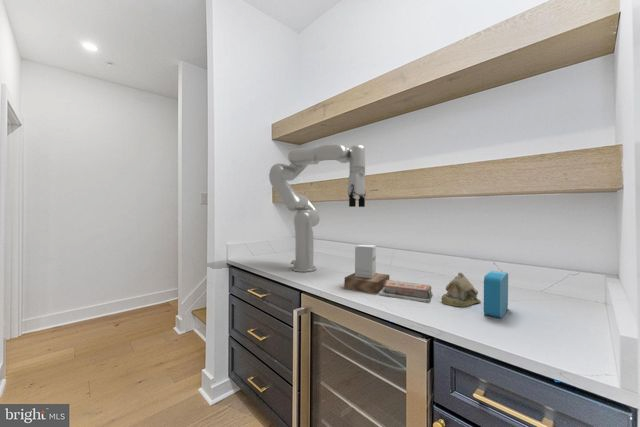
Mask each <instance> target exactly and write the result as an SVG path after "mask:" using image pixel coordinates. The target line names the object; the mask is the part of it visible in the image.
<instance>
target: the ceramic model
mask: <svg viewBox="0 0 640 427" xmlns="http://www.w3.org/2000/svg"><path fill="white" fill-rule="evenodd" d="M445 290H446V291H447V292H446V293H443V294H442V296H441V297H440V298H441V301H442V303H443V304H444V305H445V304H446V305H449V306H453V307H462V308H463V307H469V306H471V305H474V304H475V305H476V304H480V303H481V300H480V299H478V294H479V291H478V290H477V289H476V288H475V287H474V285H473V284H472V283H471V282H470V281H469V279H468V278H467V277H466V276H465V274H463V273H462V272H458V274H457V275H456V276H454V278H453V279H452V280H450V281H449V283H448V284H446V287H445Z"/></svg>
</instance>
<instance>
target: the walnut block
mask: <svg viewBox="0 0 640 427" xmlns="http://www.w3.org/2000/svg"><path fill="white" fill-rule="evenodd" d="M386 280H390V274H385V273H379V272H378V273H377V272H376V274H375V275H374V276H373V278H362V277H355V272H353V273H351V274H349V275H347V276H344V289H347V290H352V291H358V292H364V293H369V294H375V295H379V292H380V291H381V290H382V289H383V287H384V285H385V283H386Z"/></svg>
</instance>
